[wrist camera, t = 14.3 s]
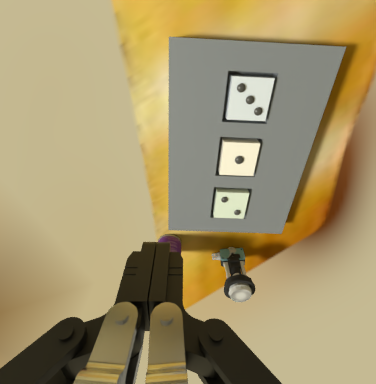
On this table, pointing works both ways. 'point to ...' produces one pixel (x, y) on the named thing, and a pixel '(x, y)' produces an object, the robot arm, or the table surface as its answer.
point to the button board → (242, 127)
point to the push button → (235, 274)
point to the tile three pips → (248, 97)
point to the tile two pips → (230, 202)
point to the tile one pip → (238, 156)
